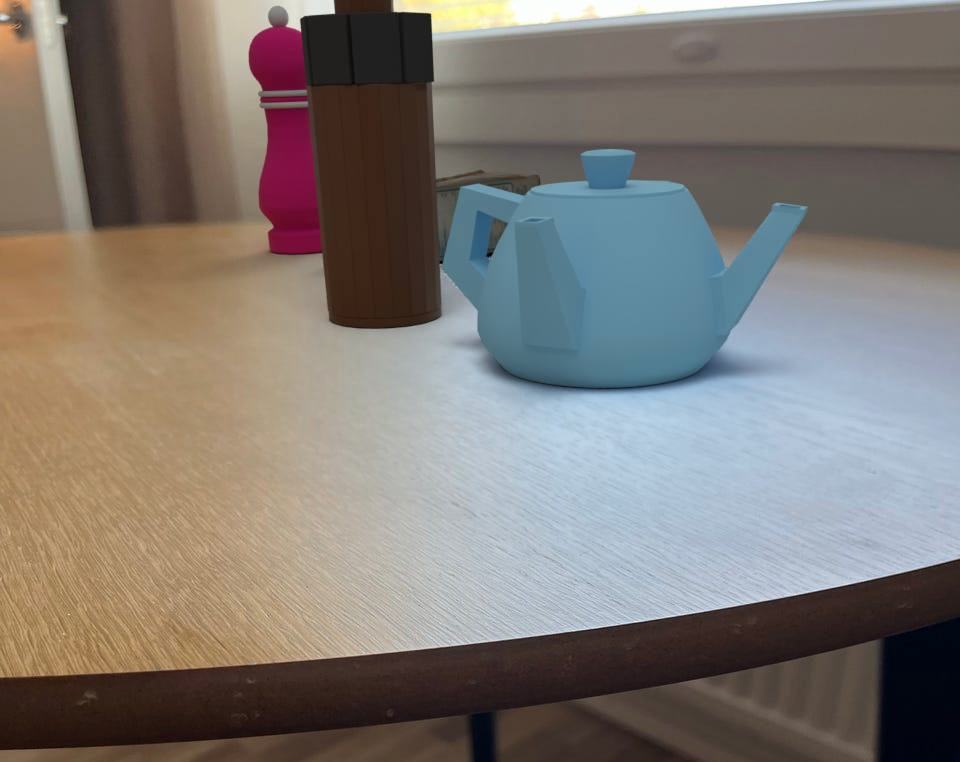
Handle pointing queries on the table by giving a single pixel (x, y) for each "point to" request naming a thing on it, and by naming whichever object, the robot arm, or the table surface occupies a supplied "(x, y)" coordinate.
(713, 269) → the teapot
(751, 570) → the table surface
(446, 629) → the table surface
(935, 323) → the table surface
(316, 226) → the pepper mill
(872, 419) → the table surface
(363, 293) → the bottle
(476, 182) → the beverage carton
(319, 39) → the black octagonal ring
